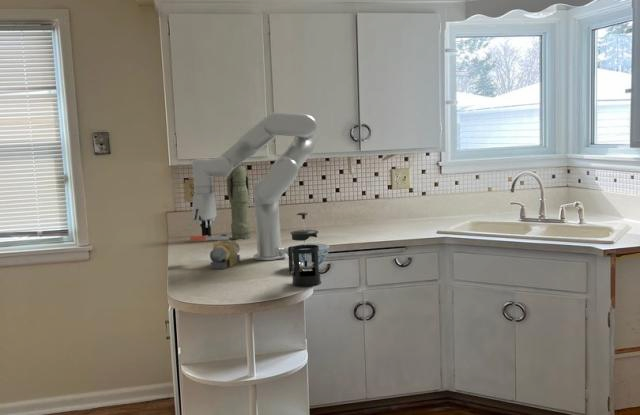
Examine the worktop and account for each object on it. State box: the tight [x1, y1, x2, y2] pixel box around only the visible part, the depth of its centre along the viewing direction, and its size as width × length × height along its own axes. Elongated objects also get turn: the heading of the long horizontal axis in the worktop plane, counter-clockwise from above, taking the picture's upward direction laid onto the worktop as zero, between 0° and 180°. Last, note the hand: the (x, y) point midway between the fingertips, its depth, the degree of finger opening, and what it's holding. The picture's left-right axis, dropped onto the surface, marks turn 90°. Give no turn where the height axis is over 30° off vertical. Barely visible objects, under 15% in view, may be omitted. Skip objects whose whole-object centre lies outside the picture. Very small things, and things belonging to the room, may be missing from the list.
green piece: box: [226, 164, 251, 240], centre depth 307 cm, size 9×12×35 cm
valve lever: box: [189, 233, 230, 242], centre depth 245 cm, size 15×4×2 cm, turn 74°
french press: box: [287, 212, 322, 288], centre depth 206 cm, size 12×9×23 cm
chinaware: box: [287, 242, 330, 271], centre depth 232 cm, size 15×15×8 cm
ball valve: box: [209, 239, 241, 270], centre depth 244 cm, size 7×16×9 cm, turn 164°
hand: (206, 237), depth 251 cm, fingers closed
